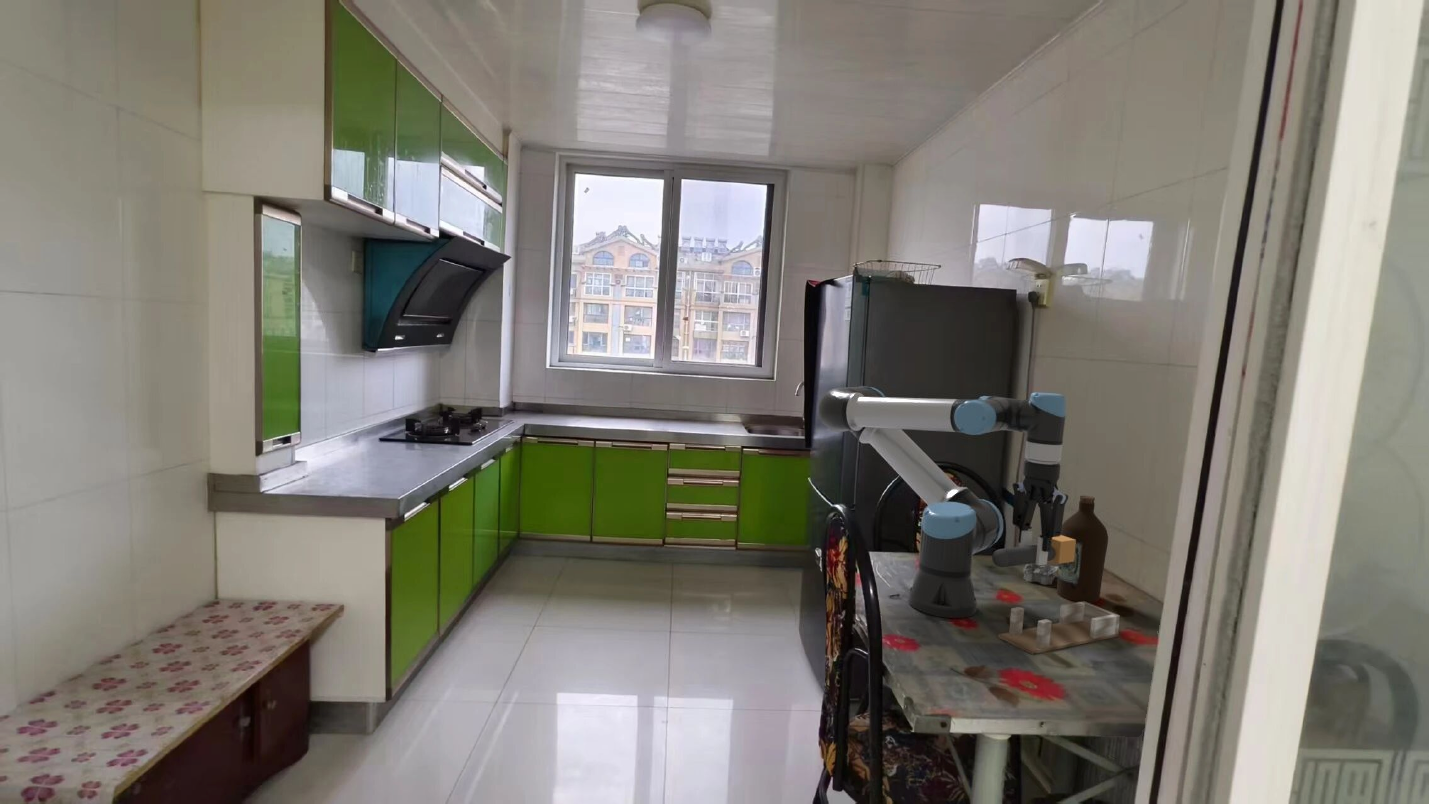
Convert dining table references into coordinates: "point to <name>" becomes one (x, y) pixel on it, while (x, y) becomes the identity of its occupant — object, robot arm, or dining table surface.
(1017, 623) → the wooden stand
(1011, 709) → the dining table surface
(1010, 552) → the grey handled block hammer
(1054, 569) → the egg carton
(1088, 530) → the olive oil
